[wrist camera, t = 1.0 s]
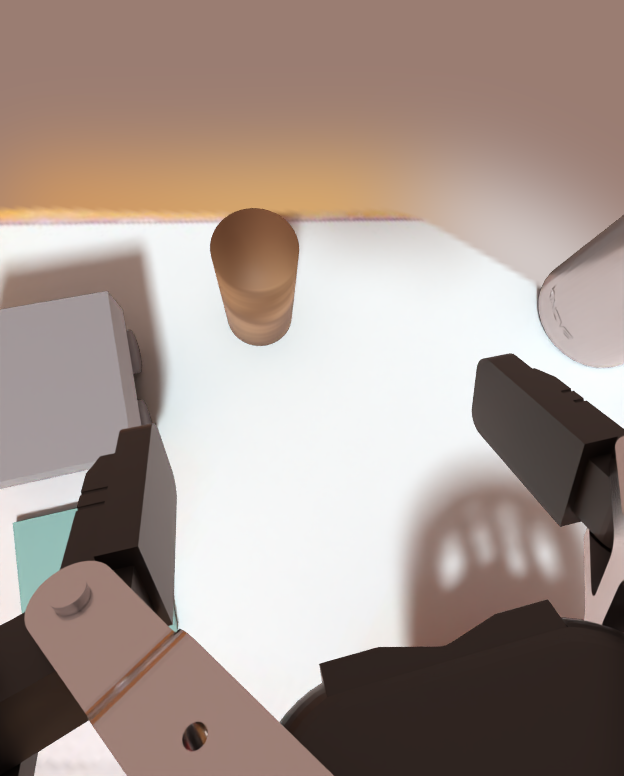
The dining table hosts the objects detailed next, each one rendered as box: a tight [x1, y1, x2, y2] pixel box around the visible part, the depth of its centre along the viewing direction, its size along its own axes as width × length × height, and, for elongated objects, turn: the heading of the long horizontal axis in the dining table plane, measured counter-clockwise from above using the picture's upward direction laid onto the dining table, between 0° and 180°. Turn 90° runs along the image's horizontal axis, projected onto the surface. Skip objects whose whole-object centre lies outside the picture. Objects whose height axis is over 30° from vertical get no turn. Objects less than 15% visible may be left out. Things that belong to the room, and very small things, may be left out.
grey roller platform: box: [0, 291, 152, 489], centre depth 30 cm, size 10×10×6 cm
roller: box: [210, 208, 299, 346], centre depth 30 cm, size 5×5×10 cm
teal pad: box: [13, 508, 178, 632], centre depth 30 cm, size 9×9×1 cm
